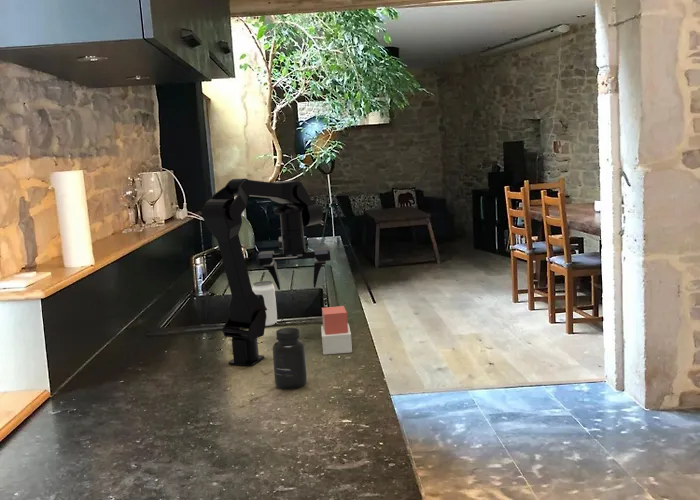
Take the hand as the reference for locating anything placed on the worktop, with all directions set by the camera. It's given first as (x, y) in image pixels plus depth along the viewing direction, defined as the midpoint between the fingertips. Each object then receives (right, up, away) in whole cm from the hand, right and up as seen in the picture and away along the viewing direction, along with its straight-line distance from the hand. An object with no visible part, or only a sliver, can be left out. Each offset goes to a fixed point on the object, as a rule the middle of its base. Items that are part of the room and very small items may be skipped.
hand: (297, 288), depth 180 cm
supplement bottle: (+1, -19, -33) cm, 38 cm away
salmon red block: (+10, -10, -10) cm, 17 cm away
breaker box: (+11, -14, -9) cm, 20 cm away
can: (-10, -11, +18) cm, 24 cm away
